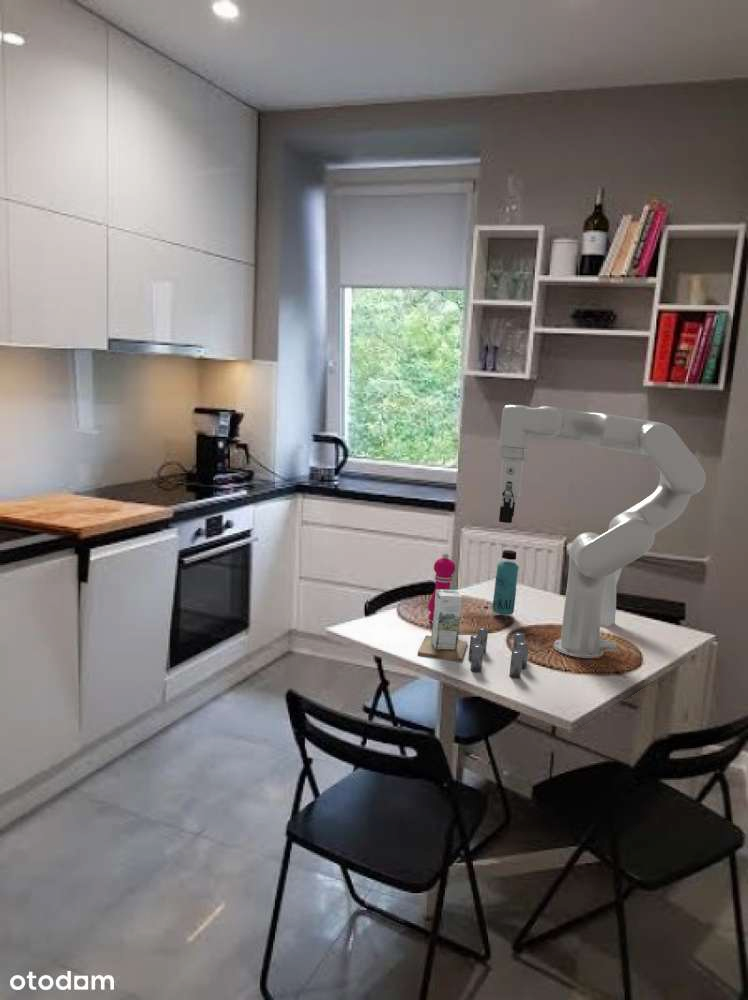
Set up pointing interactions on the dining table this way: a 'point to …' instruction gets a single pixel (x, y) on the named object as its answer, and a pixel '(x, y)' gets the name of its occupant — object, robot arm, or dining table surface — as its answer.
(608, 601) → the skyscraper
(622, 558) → the robot arm
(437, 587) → the pepper mill
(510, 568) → the beverage bottle
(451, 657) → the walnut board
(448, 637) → the syrup box
